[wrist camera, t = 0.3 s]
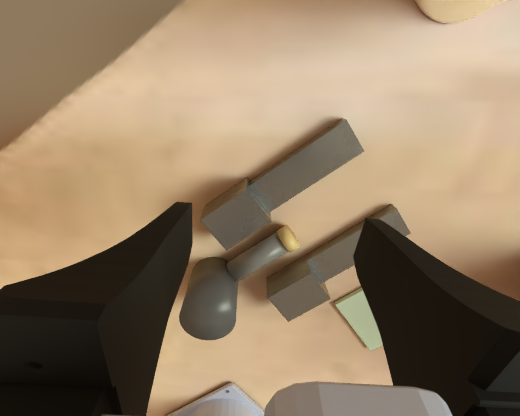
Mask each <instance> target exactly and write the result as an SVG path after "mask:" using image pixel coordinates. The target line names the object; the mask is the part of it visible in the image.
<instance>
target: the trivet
mask: <svg viewBox="0 0 520 416" xmlns="http://www.w3.org/2000/svg"><path fill="white" fill-rule="evenodd" d="M334 303H335V306H336V307H337V308H338V309H339V311H340V312H341V313H342V315H343V316H344V317H345V319H346V320H347V321H348V323H349V324H350V325H351V326H352V328H353V329H354V330H355V332H356V333H357V334H358V336H359V337H360V338H361V339H362V341H363V342H364V343H365V345H366V346H367V347H368V349H369V350H370V351H372V350H374V349H376V348H378V347H380V346H382V345H383V343H382V340H381V336H380V333H379V330H378V327H377V324H376V322H375V319H374V317H373V314H372V312H371V309H370V307H369V304H368V302H367V299H366V297H365V294H364V292H363V289H362V287H361V288H359V289H358V290H356V291H354V292H352V293H350V294H348V295H346V296H345V297H343V298H341V299H339V300H337V301H335V302H334Z"/></svg>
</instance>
